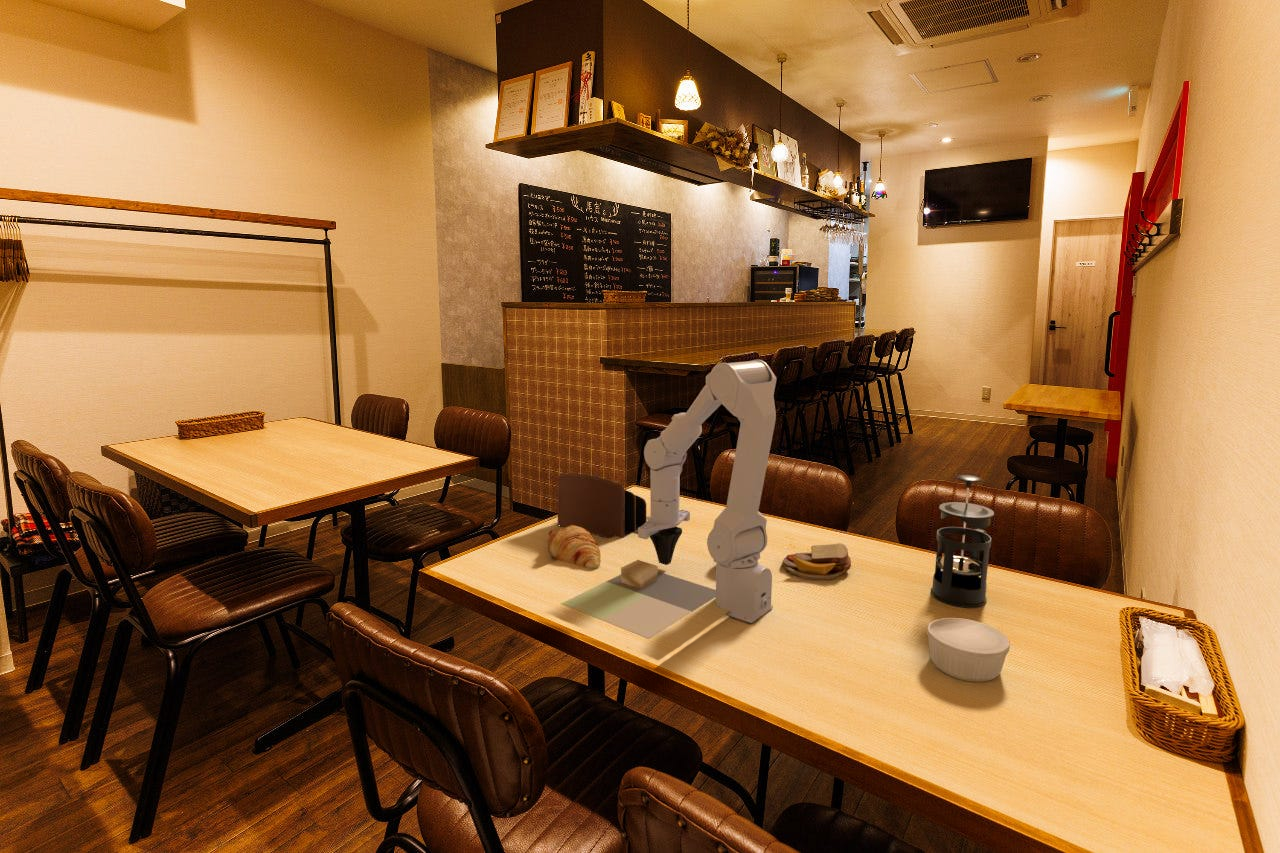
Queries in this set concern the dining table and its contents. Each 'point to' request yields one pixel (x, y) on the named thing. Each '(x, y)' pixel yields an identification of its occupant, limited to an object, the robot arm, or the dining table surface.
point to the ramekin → (967, 648)
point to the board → (642, 603)
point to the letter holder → (599, 506)
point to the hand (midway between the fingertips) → (664, 562)
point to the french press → (962, 568)
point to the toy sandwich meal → (819, 562)
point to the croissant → (574, 546)
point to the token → (639, 574)
